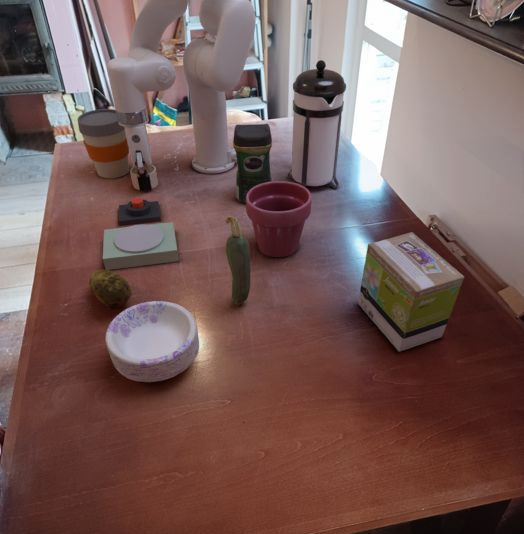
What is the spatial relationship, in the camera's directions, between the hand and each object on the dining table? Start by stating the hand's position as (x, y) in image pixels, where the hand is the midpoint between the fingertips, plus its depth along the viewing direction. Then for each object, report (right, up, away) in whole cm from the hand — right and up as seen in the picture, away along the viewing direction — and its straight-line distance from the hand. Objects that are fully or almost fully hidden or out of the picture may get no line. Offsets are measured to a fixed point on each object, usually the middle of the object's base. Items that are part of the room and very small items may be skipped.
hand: (145, 182), depth 131 cm
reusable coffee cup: (-11, +6, +7) cm, 14 cm away
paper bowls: (+14, -48, -46) cm, 68 cm away
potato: (+2, -36, -34) cm, 50 cm away
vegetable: (+28, -37, -35) cm, 59 cm away
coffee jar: (+30, -6, -4) cm, 31 cm away
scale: (+4, -23, -22) cm, 32 cm away
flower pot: (+36, -22, -21) cm, 47 cm away
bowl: (0, -1, +1) cm, 1 cm away
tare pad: (+1, -12, -11) cm, 16 cm away
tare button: (+1, -10, -12) cm, 16 cm away
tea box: (+59, -41, -39) cm, 81 cm away
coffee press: (+46, +1, +2) cm, 46 cm away
